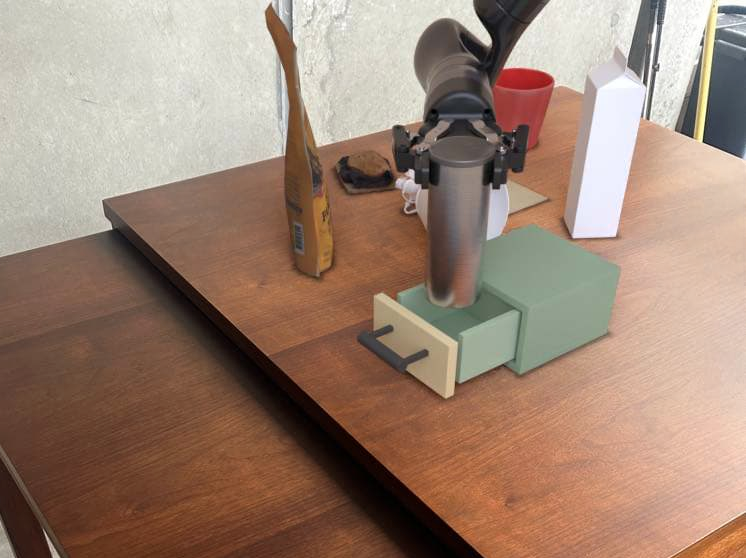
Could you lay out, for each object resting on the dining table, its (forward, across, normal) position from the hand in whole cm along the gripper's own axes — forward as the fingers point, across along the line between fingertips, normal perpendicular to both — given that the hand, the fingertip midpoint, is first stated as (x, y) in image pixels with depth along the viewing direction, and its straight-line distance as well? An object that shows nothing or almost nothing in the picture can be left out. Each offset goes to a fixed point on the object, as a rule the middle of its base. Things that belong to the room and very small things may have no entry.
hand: (461, 179), depth 80 cm
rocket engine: (-35, 0, +22) cm, 42 cm away
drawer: (-2, -1, +21) cm, 21 cm away
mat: (-45, +8, +22) cm, 51 cm away
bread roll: (-52, -12, +22) cm, 58 cm away
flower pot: (-66, +11, +22) cm, 71 cm away
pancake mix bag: (-29, -19, +22) cm, 40 cm away
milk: (-36, +19, +22) cm, 46 cm away
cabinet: (-10, +9, +22) cm, 25 cm away
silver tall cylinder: (-2, 0, +13) cm, 13 cm away
